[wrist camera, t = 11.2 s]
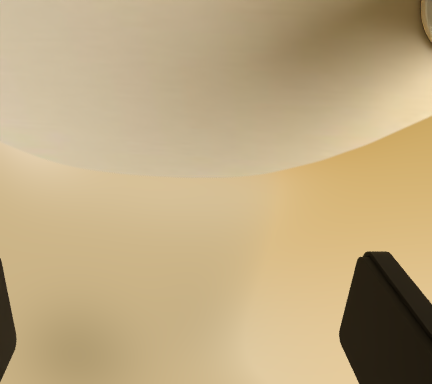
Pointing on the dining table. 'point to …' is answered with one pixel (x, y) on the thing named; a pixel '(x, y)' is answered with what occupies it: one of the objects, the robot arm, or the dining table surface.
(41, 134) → the dining table surface
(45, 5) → the dining table surface
